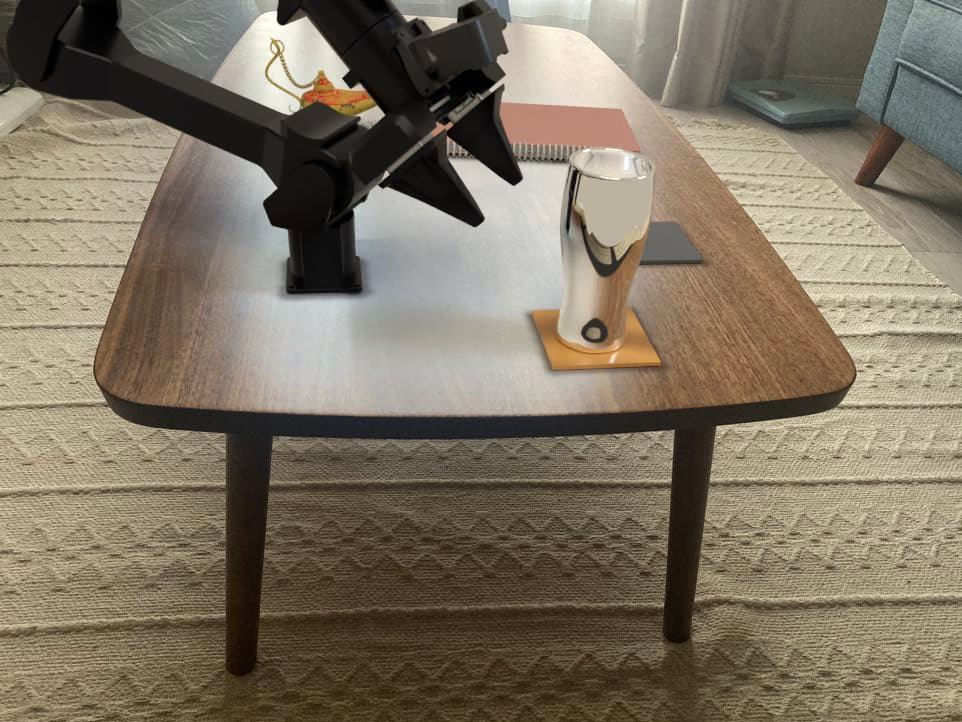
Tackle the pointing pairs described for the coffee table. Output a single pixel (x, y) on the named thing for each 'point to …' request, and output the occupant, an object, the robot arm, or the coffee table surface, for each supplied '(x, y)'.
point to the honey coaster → (565, 358)
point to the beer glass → (602, 244)
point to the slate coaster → (668, 245)
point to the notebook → (557, 130)
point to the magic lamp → (324, 91)
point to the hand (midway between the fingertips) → (500, 202)
